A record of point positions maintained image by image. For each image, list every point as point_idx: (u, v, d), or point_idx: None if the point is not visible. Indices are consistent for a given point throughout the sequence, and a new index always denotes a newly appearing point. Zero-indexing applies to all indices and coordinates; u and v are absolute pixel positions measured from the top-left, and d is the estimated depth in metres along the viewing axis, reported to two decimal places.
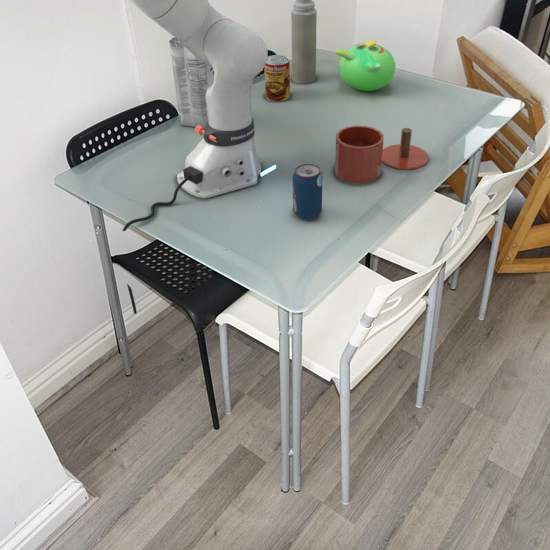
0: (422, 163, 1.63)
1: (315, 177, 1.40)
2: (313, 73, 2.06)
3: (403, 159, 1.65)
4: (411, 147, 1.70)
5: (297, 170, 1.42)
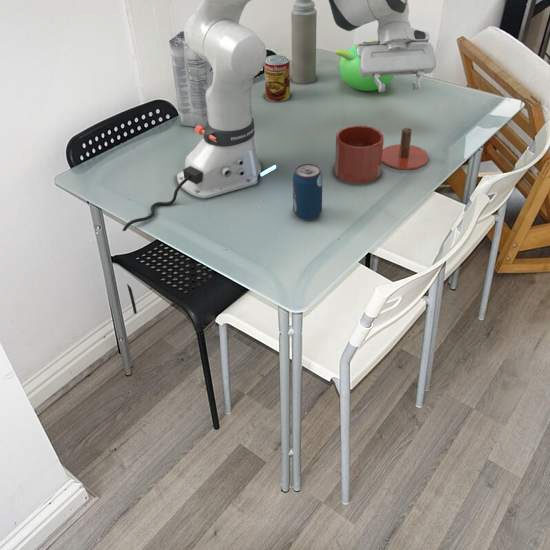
0: (422, 163, 1.63)
1: (315, 177, 1.40)
2: (313, 73, 2.06)
3: (403, 159, 1.65)
4: (411, 147, 1.70)
5: (297, 170, 1.42)
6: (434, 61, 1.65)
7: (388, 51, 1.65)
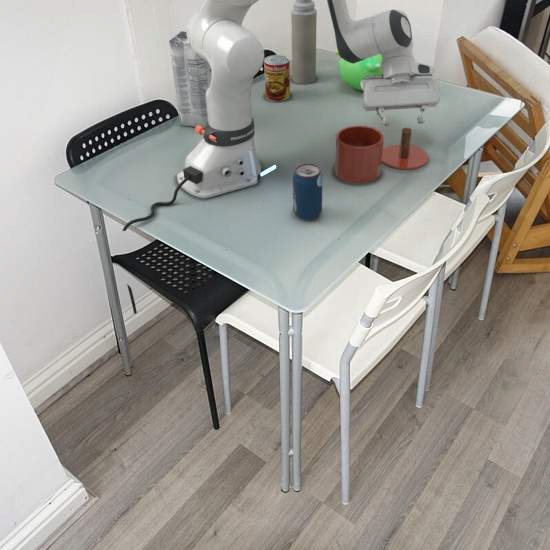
0: (422, 163, 1.63)
1: (315, 177, 1.40)
2: (313, 73, 2.06)
3: (403, 159, 1.65)
4: (411, 147, 1.70)
5: (297, 170, 1.42)
6: (438, 95, 1.64)
7: (392, 85, 1.64)
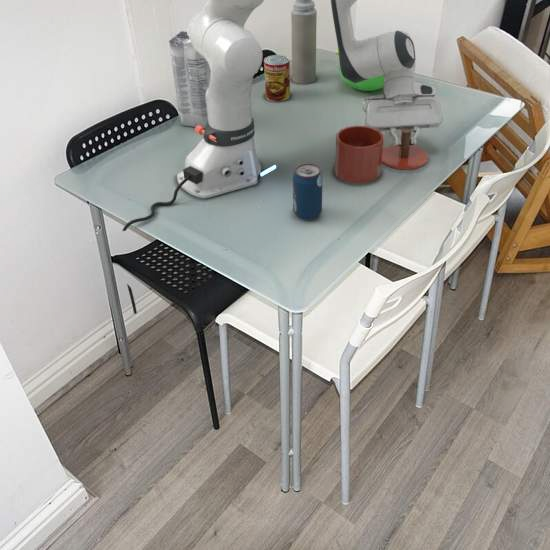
0: (422, 163, 1.63)
1: (315, 177, 1.40)
2: (313, 73, 2.06)
3: (403, 159, 1.65)
4: (411, 147, 1.70)
5: (297, 170, 1.42)
6: (441, 116, 1.63)
7: (394, 106, 1.63)
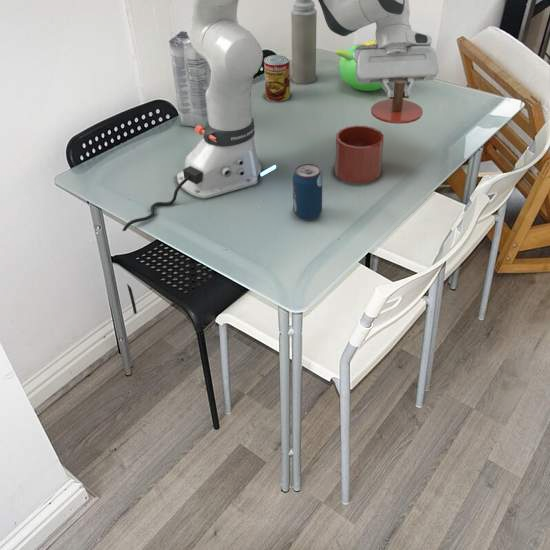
0: (416, 117, 1.53)
1: (315, 177, 1.40)
2: (313, 73, 2.06)
3: (396, 113, 1.55)
4: (405, 102, 1.60)
5: (297, 170, 1.42)
6: (436, 67, 1.52)
7: (387, 56, 1.53)
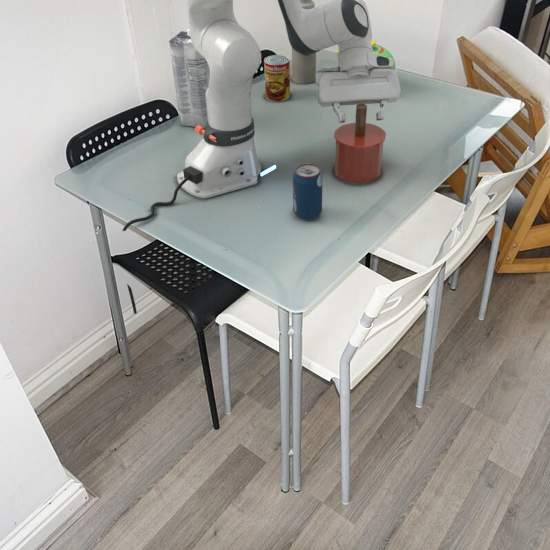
0: (379, 141, 1.52)
1: (315, 177, 1.40)
2: (313, 73, 2.06)
3: (359, 137, 1.54)
4: (369, 125, 1.59)
5: (297, 170, 1.42)
6: (399, 90, 1.51)
7: (349, 78, 1.52)
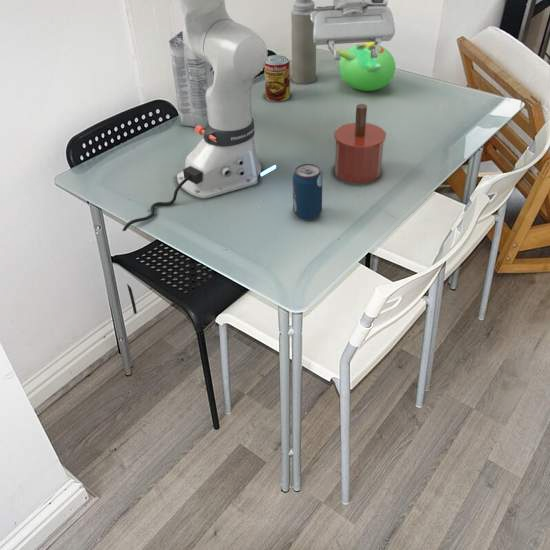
0: (379, 141, 1.52)
1: (315, 177, 1.40)
2: (313, 73, 2.06)
3: (359, 137, 1.54)
4: (369, 125, 1.59)
5: (297, 170, 1.42)
6: (393, 27, 1.53)
7: (343, 16, 1.54)
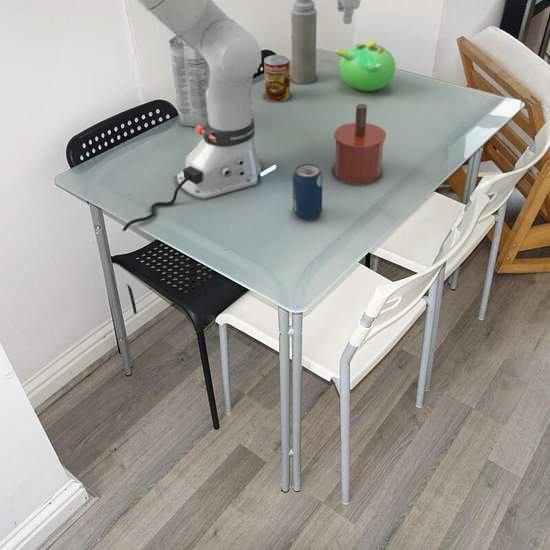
0: (379, 141, 1.52)
1: (315, 177, 1.40)
2: (313, 73, 2.06)
3: (359, 137, 1.54)
4: (369, 125, 1.59)
5: (297, 170, 1.42)
6: (343, 1, 1.43)
7: None
